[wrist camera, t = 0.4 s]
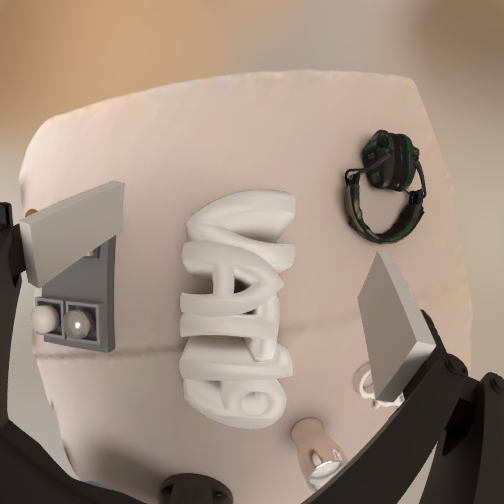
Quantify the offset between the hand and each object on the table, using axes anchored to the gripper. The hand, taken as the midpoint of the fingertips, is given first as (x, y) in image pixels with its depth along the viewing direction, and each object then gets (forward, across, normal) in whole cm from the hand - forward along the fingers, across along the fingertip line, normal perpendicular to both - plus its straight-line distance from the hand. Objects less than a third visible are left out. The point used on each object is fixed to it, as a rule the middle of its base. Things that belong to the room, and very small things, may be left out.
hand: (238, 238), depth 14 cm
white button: (+13, +31, +28) cm, 44 cm away
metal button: (+14, +24, +27) cm, 39 cm away
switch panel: (+21, +30, +24) cm, 44 cm away
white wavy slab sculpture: (+26, +2, +23) cm, 35 cm away
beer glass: (+18, -17, +41) cm, 47 cm away
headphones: (+41, -17, +2) cm, 45 cm away
